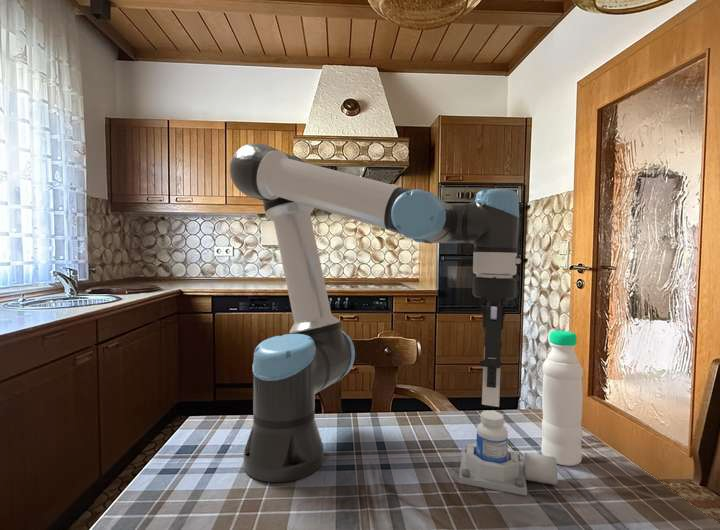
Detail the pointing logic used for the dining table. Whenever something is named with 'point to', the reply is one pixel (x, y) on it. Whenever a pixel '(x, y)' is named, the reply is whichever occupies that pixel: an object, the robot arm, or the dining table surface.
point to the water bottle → (562, 401)
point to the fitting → (506, 471)
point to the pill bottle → (492, 438)
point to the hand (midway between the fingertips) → (490, 391)
